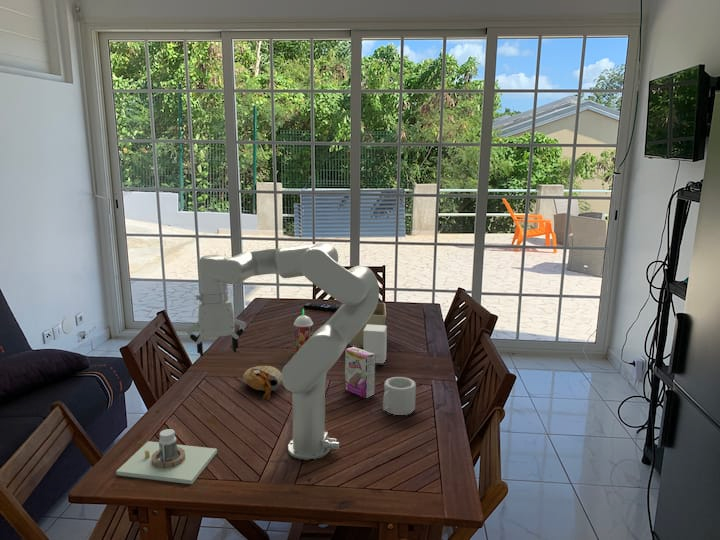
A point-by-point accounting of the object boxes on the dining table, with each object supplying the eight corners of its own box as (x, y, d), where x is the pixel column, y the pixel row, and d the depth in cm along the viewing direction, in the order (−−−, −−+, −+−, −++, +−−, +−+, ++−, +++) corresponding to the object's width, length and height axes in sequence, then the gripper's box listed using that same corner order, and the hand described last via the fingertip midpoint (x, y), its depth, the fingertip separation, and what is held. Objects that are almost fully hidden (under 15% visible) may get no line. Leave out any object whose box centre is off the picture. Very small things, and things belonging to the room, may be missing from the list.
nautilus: (283, 404, 194) (240, 407, 193) (284, 376, 215) (245, 379, 213) (281, 383, 192) (238, 387, 190) (282, 357, 213) (243, 360, 211)
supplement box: (386, 358, 237) (387, 325, 233) (384, 366, 228) (384, 331, 225) (366, 356, 238) (366, 323, 235) (362, 364, 229) (362, 330, 226)
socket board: (217, 452, 162) (216, 442, 161) (191, 484, 146) (191, 473, 146) (148, 444, 166) (147, 435, 165) (116, 475, 150) (115, 464, 149)
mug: (398, 399, 198) (398, 373, 196) (421, 409, 190) (422, 382, 188) (371, 411, 188) (372, 384, 186) (395, 422, 181) (396, 394, 179)
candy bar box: (343, 390, 204) (344, 348, 201) (353, 386, 208) (353, 345, 204) (366, 400, 197) (366, 356, 193) (375, 395, 200) (376, 353, 197)
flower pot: (385, 351, 245) (386, 314, 242) (343, 350, 245) (343, 314, 242) (384, 336, 264) (385, 302, 260) (344, 336, 264) (344, 302, 260)
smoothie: (317, 352, 242) (316, 308, 238) (305, 358, 236) (305, 313, 231) (302, 348, 247) (301, 305, 243) (290, 354, 240) (289, 310, 236)
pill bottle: (180, 455, 158) (179, 429, 156) (172, 464, 153) (170, 437, 151) (165, 454, 158) (163, 427, 157) (156, 463, 154) (154, 435, 152)
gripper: (184, 303, 154) (188, 361, 158) (246, 297, 160) (249, 353, 164) (182, 297, 161) (186, 352, 165) (242, 291, 167) (245, 345, 171)
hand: (218, 352), depth 164 cm, fingers open, 9 cm apart
